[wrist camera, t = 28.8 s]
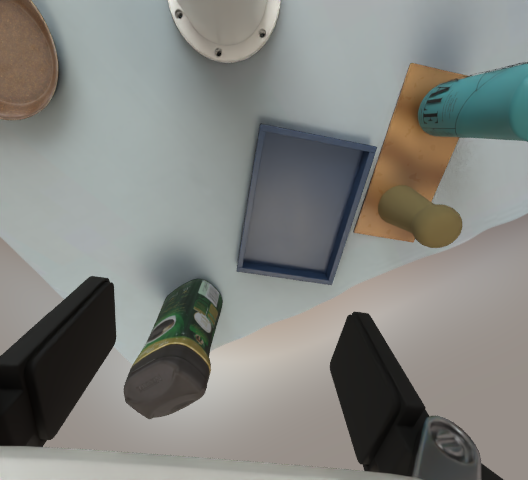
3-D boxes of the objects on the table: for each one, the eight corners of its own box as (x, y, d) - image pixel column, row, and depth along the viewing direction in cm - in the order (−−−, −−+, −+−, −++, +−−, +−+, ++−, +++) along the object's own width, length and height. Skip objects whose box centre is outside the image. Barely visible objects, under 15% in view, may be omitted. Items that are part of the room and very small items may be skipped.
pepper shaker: (419, 182, 39) (477, 201, 29) (416, 220, 41) (468, 251, 31) (378, 188, 39) (420, 210, 29) (377, 226, 41) (416, 259, 31)
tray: (260, 123, 35) (260, 123, 33) (370, 145, 37) (377, 146, 35) (237, 264, 44) (236, 271, 42) (328, 277, 45) (331, 285, 43)
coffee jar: (189, 327, 49) (153, 435, 32) (159, 297, 46) (102, 399, 29) (231, 301, 47) (217, 402, 30) (202, 269, 44) (168, 360, 27)
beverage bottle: (459, 127, 36) (672, 130, 18) (410, 143, 37) (565, 161, 18) (458, 74, 33) (704, 12, 15) (405, 92, 34) (580, 53, 16)
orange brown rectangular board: (410, 63, 33) (411, 62, 33) (482, 80, 34) (484, 79, 34) (353, 231, 42) (354, 232, 42) (412, 241, 43) (413, 242, 43)
